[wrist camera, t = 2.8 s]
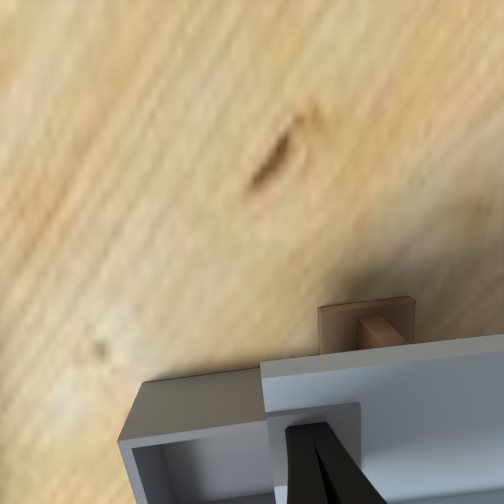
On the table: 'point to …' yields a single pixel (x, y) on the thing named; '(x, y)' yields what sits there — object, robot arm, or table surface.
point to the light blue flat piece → (400, 416)
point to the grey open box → (199, 441)
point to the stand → (366, 325)
